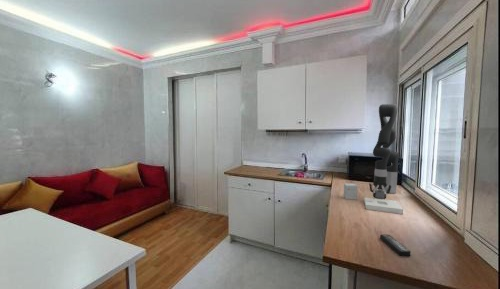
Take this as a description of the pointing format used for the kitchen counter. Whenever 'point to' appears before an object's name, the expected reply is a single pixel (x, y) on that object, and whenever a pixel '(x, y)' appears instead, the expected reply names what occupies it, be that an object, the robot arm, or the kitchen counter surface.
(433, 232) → the kitchen counter surface
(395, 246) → the multiport hub
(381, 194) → the plug
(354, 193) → the small box
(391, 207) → the socket plate
